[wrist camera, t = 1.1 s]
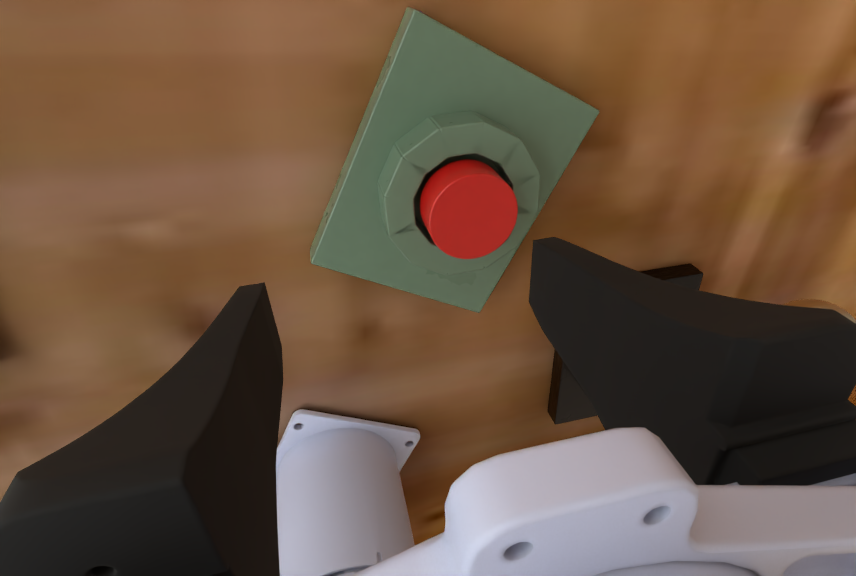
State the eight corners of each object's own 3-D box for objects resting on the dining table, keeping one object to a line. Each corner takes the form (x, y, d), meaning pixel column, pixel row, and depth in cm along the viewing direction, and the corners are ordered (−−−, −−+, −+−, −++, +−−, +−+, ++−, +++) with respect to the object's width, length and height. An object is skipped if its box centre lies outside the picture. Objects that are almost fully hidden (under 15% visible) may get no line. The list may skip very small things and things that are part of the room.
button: (477, 250, 22) (490, 270, 21) (404, 224, 21) (413, 244, 20) (518, 177, 21) (535, 193, 20) (443, 144, 20) (455, 159, 18)
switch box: (471, 298, 27) (491, 334, 25) (309, 249, 24) (311, 285, 21) (585, 103, 23) (623, 121, 20) (407, 5, 19) (425, 12, 17)
